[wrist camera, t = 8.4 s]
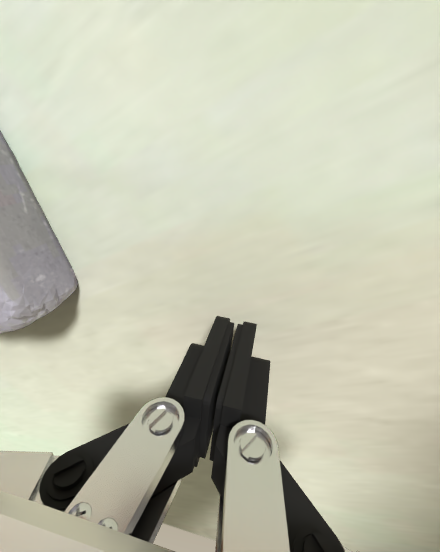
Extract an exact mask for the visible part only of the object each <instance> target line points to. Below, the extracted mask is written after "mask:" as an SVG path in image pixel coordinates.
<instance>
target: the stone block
mask: <svg viewBox="0 0 440 552" xmlns="http://www.w3.org/2000/svg"><path fill="white" fill-rule="evenodd" d="M77 283H78V282H77V280H76V276H75V273H74V271H73V269H72V267H71V265H70V263H69V261H68V259H67V257H66V255H65V253H64V251H63V249H62V247H61V245H60V243H59V241H58V239H57V237H56V236H55V234H54V232H53V230H52V228H51V226H50V224H49V222H48V220H47V218H46V216H45V214H44V212H43V210H42V208H41V206H40V205H39V203H38V201H37V199H36V197H35V195H34V193H33V191H32V189H31V187H30V185H29V183H28V181H27V179H26V178H25V176H24V174H23V172H22V170H21V168H20V166H19V164H18V162H17V160H16V158H15V156H14V154H13V152H12V151H11V149H10V147H9V146H8V144H7V142H6V141H5V139H4V137H3V135H2V133H1V131H0V334H1V333H5V332H9V331H14V330H17V329H21V328H24V327H26V326H28V325H30V324H31V323H33V322H34V321H36V320H37V319H39V318H41V317H43V316H45V315H47V314H48V313H50V312H51V311H53V310H54V309H55V308H57V307H58V306H59V305H60V304H61V303H62V302H63V301H64V300H66V299H67V298H68V297H69V296H70V295H71V294H72V293H73V292H74V291H75V289H76V288H77Z"/></svg>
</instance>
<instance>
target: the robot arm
mask: <svg viewBox="0 0 440 552" xmlns="http://www.w3.org/2000/svg"><path fill="white" fill-rule="evenodd" d="M256 326H257V324H254V323H249V322H244V323H243V325H241V324H238V326H237V329H236V333H235V337H234V340H233V344H232V337H233V329H234V323H231V322H230V319H229V318H224V317H220V316H217V317H216V319H215V321H214V324H213V326H212V329H211V331H210V333H209V336H208V338H207V341H206V343H205V346H202V345H198V344H193V343H192V344H191V345H190V347H189V349H188V351H187V353H186V355H185V357H184V360H183V362H182V364H181V366H180V368H179V370H178V372H177V374H176V376H175V378H174V380H173V382H172V385H171V387H170V389H169V391H168V393H167V395H166V397H162V398H156V399H153V400H151V401H149V402H148V403H146V404H145V405H144V406H143V407H142V408H141V409H140V411H139V412H138V413H137V415H136V416H135V417H134V419H133V420H132V421H131V423H129V424H127V425H125V426H123V427H121V428H119V429H116V430H114V431H112V432H110V433H108V434H105V435H103V436H101V437H99V438H97V439H94V440H92V441H90V442H88V443H86V444H83V445H81V446H79V447H77V448H75V449H72V450H70V451H68V452H66V453H65V454H63V455H61V456H54V455H53V453H52V452H20V451H0V552H174V551H171V550H169V549H166V548H163V547H160V546H158V545H155V544H153V542H154V539H155V537H156V535H157V533H158V531H159V529H160V527H161V525H162V522H163V520H164V518H165V516H166V514H167V512H168V509H169V507H170V505H171V503H172V501H173V499H174V496H175V494H176V492H177V490H178V488H179V486H180V483H181V480H182V478H183V477H185V476H186V475H188V474H190V473H191V472H192V471H193V468H194V466H195V467H197V465H198V461H199V458H200V457H201V458H205V457H206V454H207V450H208V446H209V442H210V438H211V435H212V431H213V435H212V443H211V452H210V460H212V461H213V468H212V476H211V478H212V480H213V482H214V484H215V486H216V488H217V490H218V492H219V506H218V521H217V536H216V552H352V551H351V550H349V549H347V548H346V547H344V546H342V545H341V543H340V541H339V540H338V538H337V537H336V535H335V534H334V533H333V531H332V530H331V528H330V527H329V526H328V524H327V523H326V522H325V520H324V519H323V518H322V516H321V515H320V514H319V512H318V511H317V510H316V508H315V507H314V506H313V504H312V503H311V501H310V500H309V499H308V497H307V496H306V495H305V493H304V492H303V491H302V489H301V488H300V487H299V485H298V484H297V483H296V481H295V480H294V479H293V477H292V476H291V474H290V473H289V472H288V470H287V469H286V468H285V466H284V465H283V464H282V462H281V461H280V459H279V450H278V444H277V440H276V438H275V436H274V434H273V433H272V431H271V430H270V429H269V428H268V427H267V426H266V425H265V418H266V407H267V395H268V383H269V371H270V361H268V360H264V359H260V358H255V357H251V355H252V349H253V343H254V338H255V332H256ZM231 344H232V347H231ZM356 552H359V551H356Z"/></svg>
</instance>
